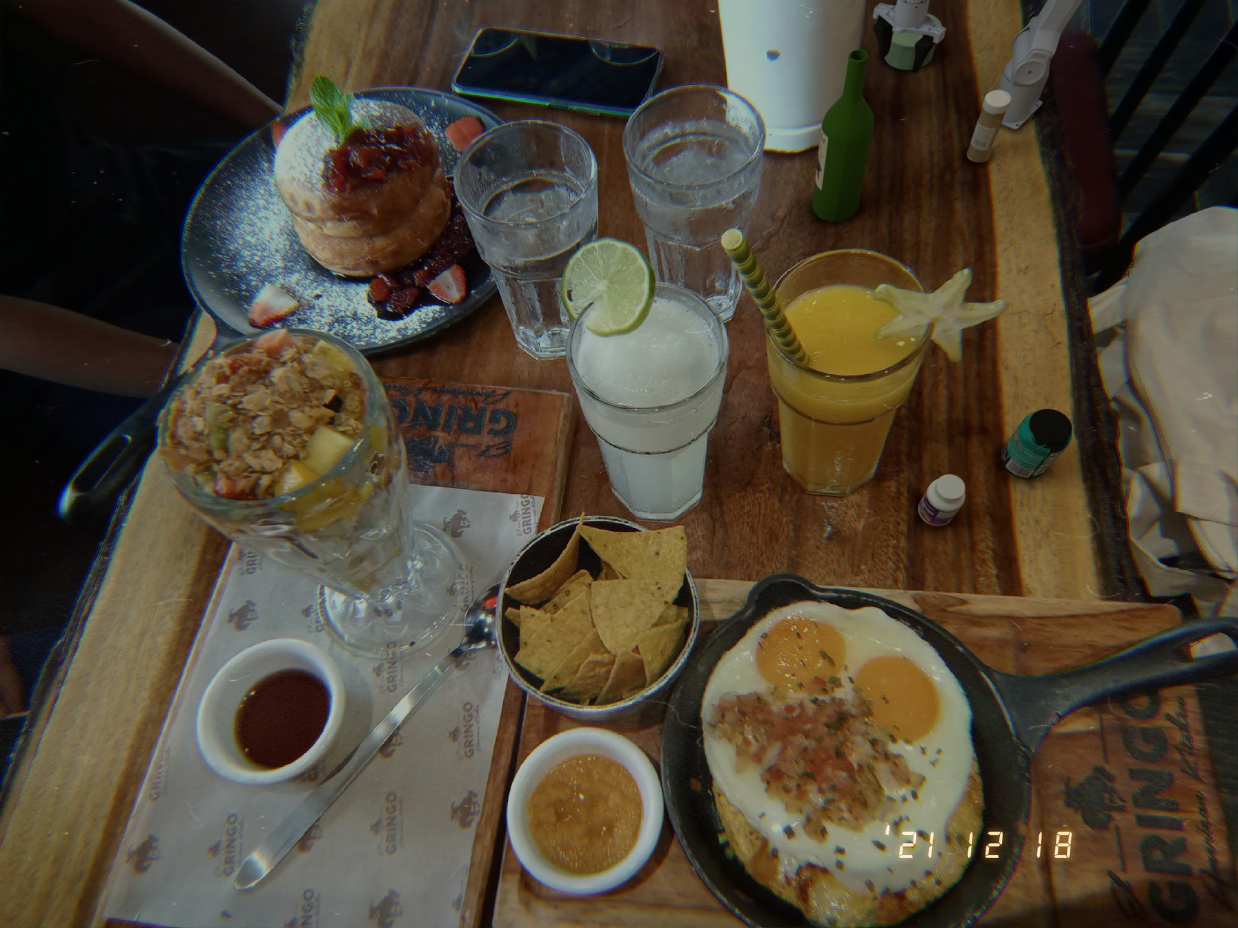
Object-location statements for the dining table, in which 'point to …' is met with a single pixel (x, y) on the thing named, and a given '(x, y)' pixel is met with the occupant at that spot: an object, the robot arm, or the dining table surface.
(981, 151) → the sprinkles bottle
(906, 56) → the canister
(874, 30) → the robot arm
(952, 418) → the dining table surface
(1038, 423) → the teal spice jar
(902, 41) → the canister lid
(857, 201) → the wine bottle
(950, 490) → the pill bottle
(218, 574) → the dining table surface
